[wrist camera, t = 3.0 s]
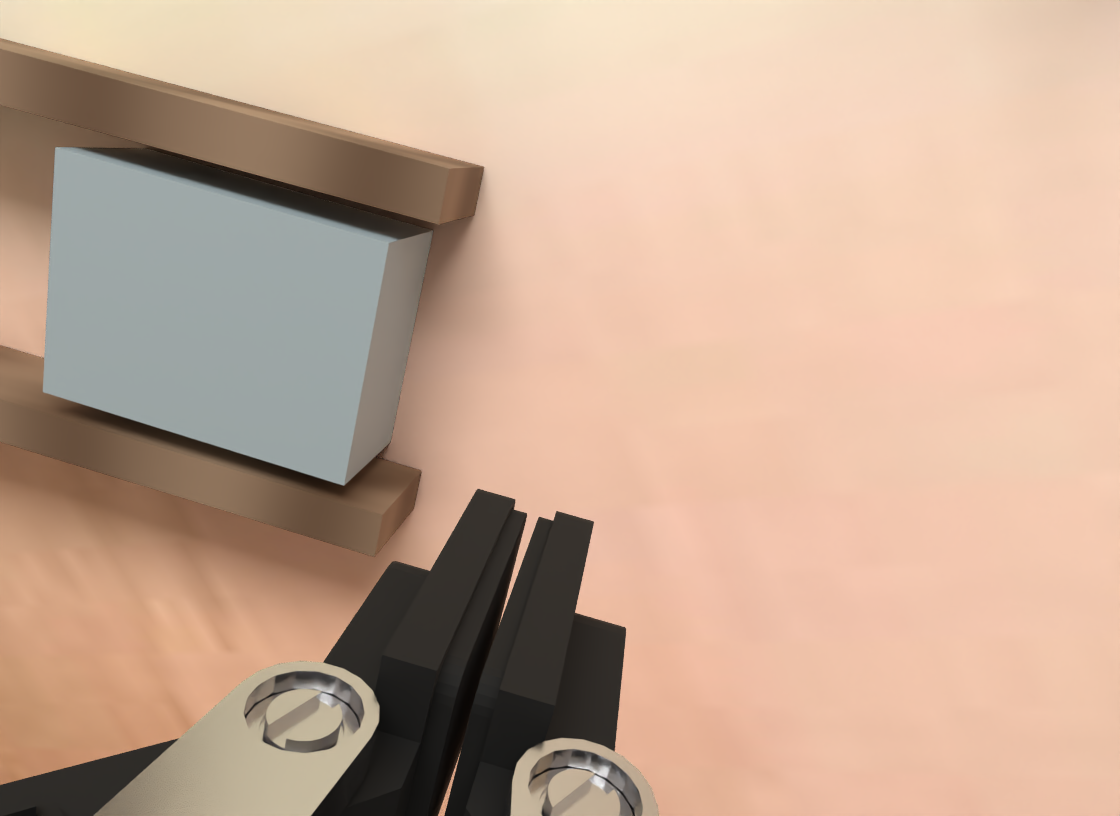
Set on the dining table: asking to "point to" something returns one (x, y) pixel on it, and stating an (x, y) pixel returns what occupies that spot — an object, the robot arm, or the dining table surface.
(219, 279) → the slate block
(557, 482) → the dining table surface
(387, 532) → the walnut chute
